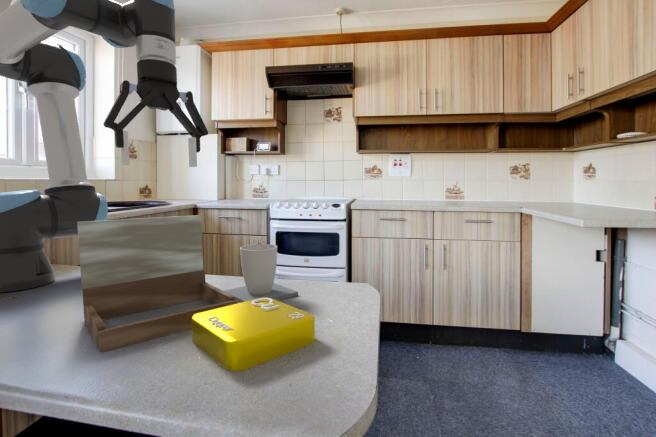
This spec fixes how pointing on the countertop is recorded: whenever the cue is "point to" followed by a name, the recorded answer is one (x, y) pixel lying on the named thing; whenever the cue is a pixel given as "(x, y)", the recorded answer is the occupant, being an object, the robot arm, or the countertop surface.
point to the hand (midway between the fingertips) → (161, 166)
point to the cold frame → (143, 276)
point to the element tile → (252, 332)
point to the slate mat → (276, 293)
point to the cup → (259, 267)
